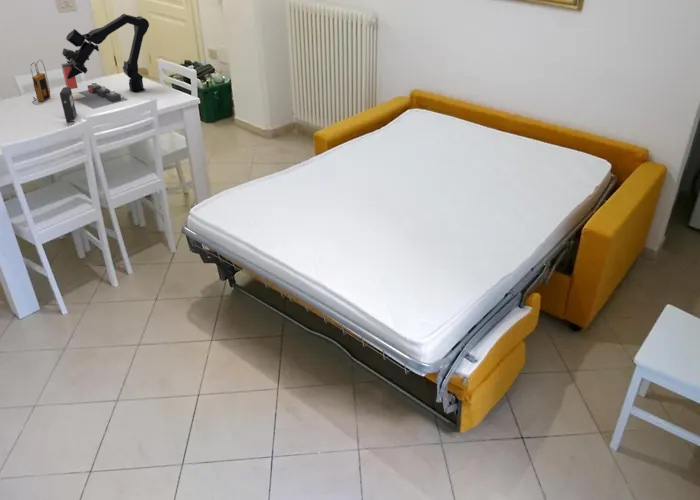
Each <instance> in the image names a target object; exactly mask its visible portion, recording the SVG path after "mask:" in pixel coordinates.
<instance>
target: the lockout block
mask: <svg viewBox="0 0 700 500" xmlns="http://www.w3.org/2000/svg"><path fill="white" fill-rule="evenodd" d="M71 65H72V63H66V62H65V63H61V69H62V70H61V71H62V73H63V78H64V81H65V82H64V84H65V87H69V88H71V90H73V89H78V83H77V79H76V76H74V77H72V78H70V79H68V78H67V77H68V75H69V73H70V71H71V69H72V67H71Z"/></svg>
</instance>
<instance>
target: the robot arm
mask: <svg viewBox="0 0 700 500" xmlns="http://www.w3.org/2000/svg"><path fill="white" fill-rule="evenodd" d="M128 24H130V25H132V26H133V31H134V34H133V39H132V43H131V49H130V52H129V56H128V60H127V61H126V60H124V61H123V66H122V69H123V73H124V75H126V76H127V77H128V78H129V79H128V85H129V91H130V92H133V93H140V92H143V91H146V88H144V83H143V80H144V79H143V78H144V76H143V75H141V74H140V73H139V65H138V63H139V58H140V57H139V56H140V53H141V47H142V43H143V39H144V36H145V35H146V33H147V32H148V30H149V27H150V23H149V21H148V20H147V19H146V18H145V17H143V16H141V15H138V16H133V15H129V14H126V13H122V14H121V15H120V16H118V17H116V18H115V19H113V20H112V21H110V22H109V23H107V24H105V25H104V26H102V27H98V28H94V29H92V30H90V31H89V32H88V33H84V34H81V33H80V32H79V31H78V30H77V29H75V28H73V30H72V31H70V32H69V33H68V34H67V36H66V38H65V40H66V41H67V42H69V43H71V44H72V45H74V47H76V48H79V49H75V51H74V50H72V49H67V48H66V47H65V48H63V50H62V52H61V53H62V56H63V57H65V59H66V62H67V63H72V65H71V67H72V69H71V71H70V73H69V75H68V77H67V78H68V79H70V78H72V77H74V76H75V77H76V76H78V75H81V74H87V72H88V68H87V67H86V66H85V64H86V62H87V61H89V60H90V56H91V55H92V54H93V52H94V51H96V52H99V51H100V50H99V45H100V44H102V43H103V42H104V41H105V40H106V39H107V38H108V36H109V35H111V34H112V33H114V32H115V31H118V30H119V29H120V28H122V27H124V26H125V25H128Z"/></svg>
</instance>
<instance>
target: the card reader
mask: <svg viewBox="0 0 700 500" xmlns="http://www.w3.org/2000/svg"><path fill="white" fill-rule="evenodd" d="M72 94H73V92H72V89H71V88H69V87H66V86H64V87H63V88H62V89H61V91H60V92H59V97H60V102H61V104H62V105H61V106H62V109H63V114H64V118H65V121H66V122H67V123H70V124H71V123H74V122H75V121H74V120H76V117H77V116H78V114H77V110H76V109H77V108H76V105H75V100H73V96H72Z"/></svg>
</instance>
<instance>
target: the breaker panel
mask: <svg viewBox="0 0 700 500" xmlns="http://www.w3.org/2000/svg"><path fill="white" fill-rule="evenodd" d="M72 96H73V100H74V101H76V102H78V103H81V104H82V105H84V106H86V107H89V108H91V109H92V110H93V109H98V108H102V107H105V106H110V105H115V104H117V103H120V102H121V103H122V102H124V101H129V99H127V98H125V97H124V96H123V95H121V94H120V93H118V92H116V90H114V89H108V88H107V87H106V86H105V85H100V84H98V83H97V82H96V81H91V84H90V85H89V84H88V85H87V90H83V91H77V92H74V93H73V92H72Z"/></svg>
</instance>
